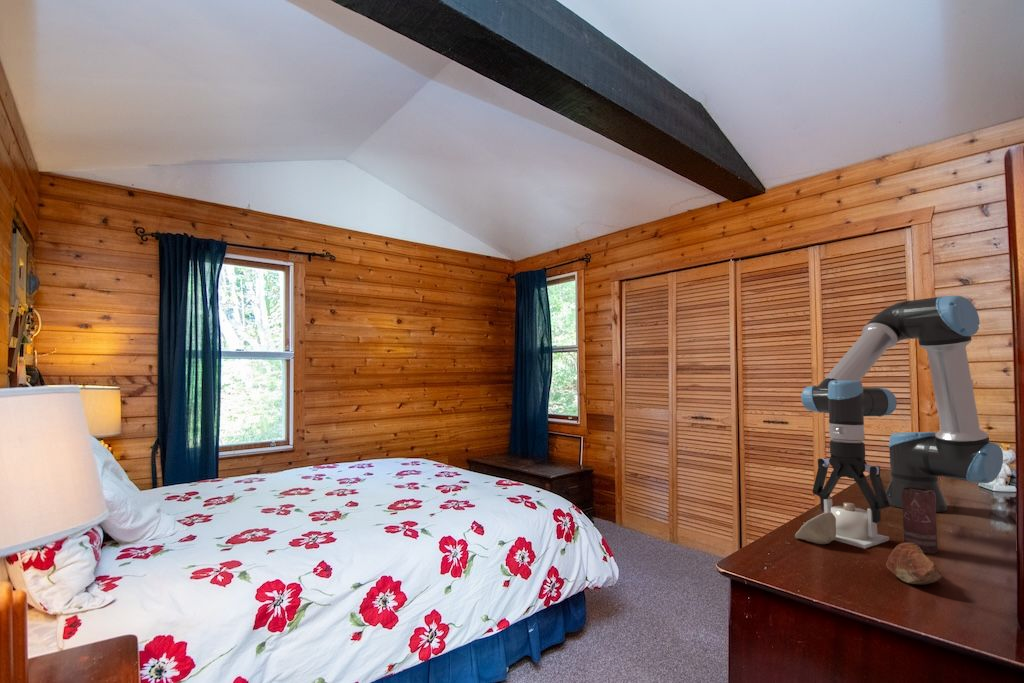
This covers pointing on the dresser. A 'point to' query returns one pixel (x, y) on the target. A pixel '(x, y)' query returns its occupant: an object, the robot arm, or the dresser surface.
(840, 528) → the cloche
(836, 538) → the mat
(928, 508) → the can
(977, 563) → the dresser surface
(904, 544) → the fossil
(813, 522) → the stone
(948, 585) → the dresser surface
